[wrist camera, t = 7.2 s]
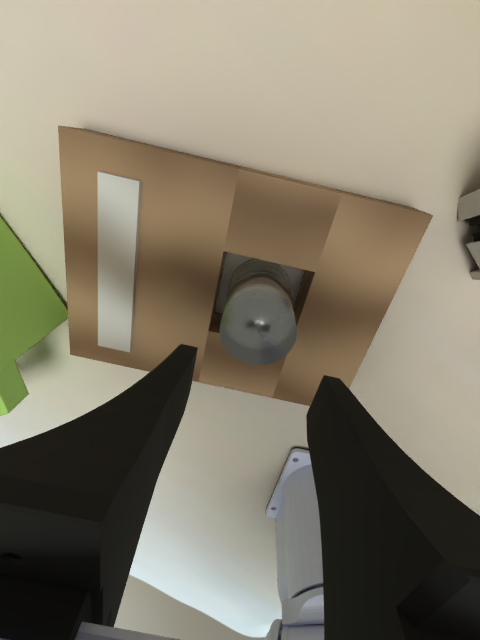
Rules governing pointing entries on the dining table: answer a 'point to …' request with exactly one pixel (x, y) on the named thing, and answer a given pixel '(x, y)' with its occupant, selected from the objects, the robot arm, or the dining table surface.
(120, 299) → the jig
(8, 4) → the dining table surface
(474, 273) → the grey rounded piece
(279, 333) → the mottled grey cylinder
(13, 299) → the gearbox
